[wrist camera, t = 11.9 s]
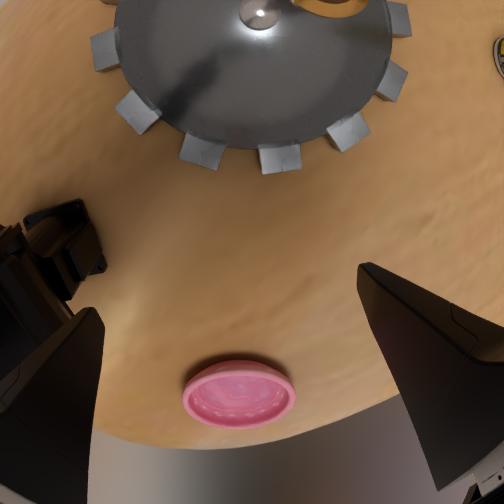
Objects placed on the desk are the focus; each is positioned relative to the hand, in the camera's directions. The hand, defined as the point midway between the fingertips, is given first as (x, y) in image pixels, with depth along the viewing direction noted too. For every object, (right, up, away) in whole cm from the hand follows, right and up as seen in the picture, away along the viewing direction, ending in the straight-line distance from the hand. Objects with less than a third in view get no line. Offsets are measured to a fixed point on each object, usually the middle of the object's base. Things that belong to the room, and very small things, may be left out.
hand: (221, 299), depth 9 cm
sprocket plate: (+1, +17, +6) cm, 17 cm away
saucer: (-1, -13, +23) cm, 27 cm away
